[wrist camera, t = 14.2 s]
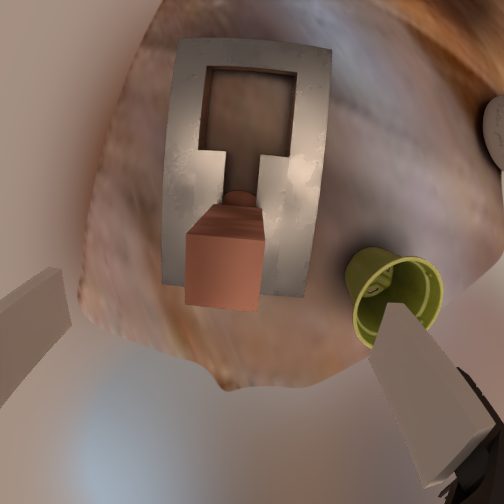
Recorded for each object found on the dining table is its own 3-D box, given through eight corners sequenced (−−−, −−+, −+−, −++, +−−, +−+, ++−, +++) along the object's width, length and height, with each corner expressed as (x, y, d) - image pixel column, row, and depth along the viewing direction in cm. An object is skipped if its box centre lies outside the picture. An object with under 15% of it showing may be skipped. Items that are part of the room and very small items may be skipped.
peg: (269, 192, 29) (283, 227, 14) (263, 246, 30) (270, 325, 16) (213, 187, 29) (171, 217, 14) (209, 242, 30) (171, 314, 16)
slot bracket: (324, 60, 24) (332, 50, 21) (298, 283, 32) (303, 297, 28) (186, 50, 24) (179, 38, 21) (170, 271, 31) (162, 284, 28)
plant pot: (396, 219, 29) (438, 241, 21) (410, 291, 32) (445, 327, 24) (320, 249, 30) (342, 282, 22) (341, 320, 33) (363, 365, 25)
